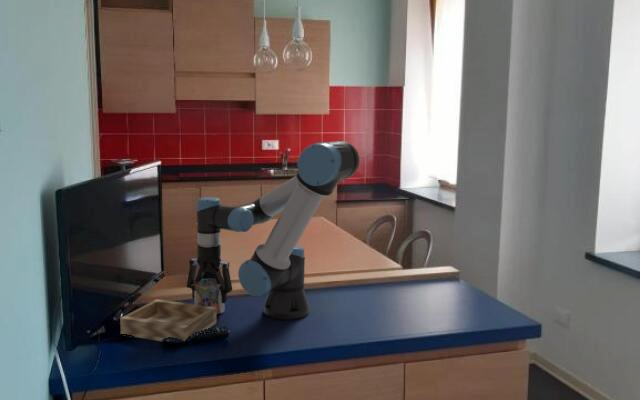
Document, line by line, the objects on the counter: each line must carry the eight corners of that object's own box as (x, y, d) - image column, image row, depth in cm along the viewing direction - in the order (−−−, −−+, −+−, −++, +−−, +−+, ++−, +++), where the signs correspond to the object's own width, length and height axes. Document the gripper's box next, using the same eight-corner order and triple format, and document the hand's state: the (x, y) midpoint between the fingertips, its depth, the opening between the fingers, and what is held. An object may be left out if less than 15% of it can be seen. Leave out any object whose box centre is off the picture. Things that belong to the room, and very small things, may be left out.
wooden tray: (216, 322, 193) (216, 307, 192) (185, 345, 175) (184, 327, 174) (156, 314, 199) (156, 299, 199) (120, 334, 182) (120, 318, 181)
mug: (224, 316, 199) (224, 285, 197) (195, 319, 196) (195, 287, 194) (219, 305, 210) (218, 275, 208) (191, 307, 207) (191, 277, 205)
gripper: (243, 244, 199) (243, 310, 203) (186, 239, 206) (187, 302, 210) (232, 250, 192) (233, 318, 196) (174, 243, 199) (175, 309, 203)
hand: (209, 310), depth 203 cm, fingers open, 8 cm apart
